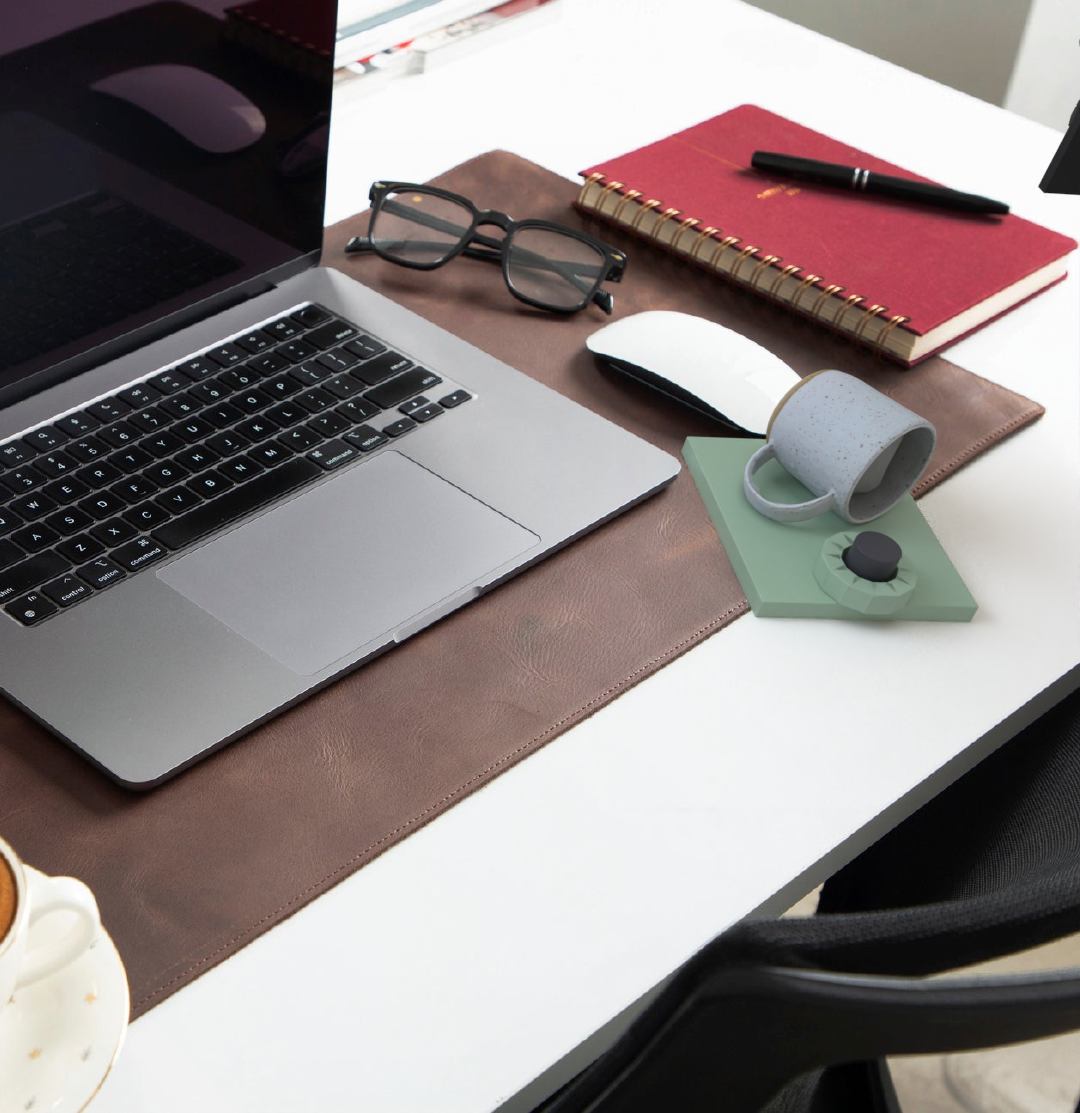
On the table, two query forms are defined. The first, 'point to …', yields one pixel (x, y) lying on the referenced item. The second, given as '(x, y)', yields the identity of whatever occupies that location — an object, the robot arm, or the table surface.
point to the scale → (819, 547)
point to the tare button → (873, 556)
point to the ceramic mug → (842, 449)
